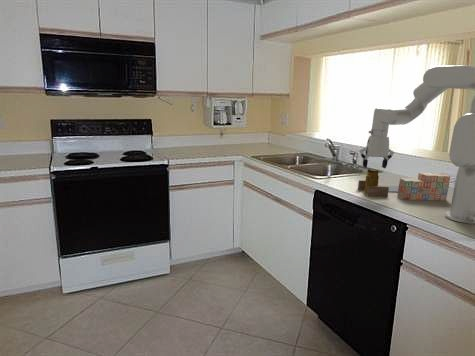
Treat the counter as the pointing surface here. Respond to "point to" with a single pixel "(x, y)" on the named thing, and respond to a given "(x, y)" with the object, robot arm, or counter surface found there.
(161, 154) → the counter surface
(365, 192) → the condiment
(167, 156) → the counter surface
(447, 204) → the counter surface
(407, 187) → the stack of blocks
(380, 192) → the brown angular block
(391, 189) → the mat
